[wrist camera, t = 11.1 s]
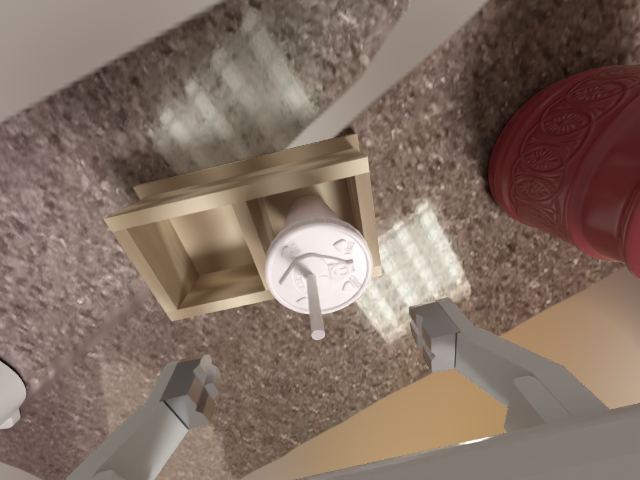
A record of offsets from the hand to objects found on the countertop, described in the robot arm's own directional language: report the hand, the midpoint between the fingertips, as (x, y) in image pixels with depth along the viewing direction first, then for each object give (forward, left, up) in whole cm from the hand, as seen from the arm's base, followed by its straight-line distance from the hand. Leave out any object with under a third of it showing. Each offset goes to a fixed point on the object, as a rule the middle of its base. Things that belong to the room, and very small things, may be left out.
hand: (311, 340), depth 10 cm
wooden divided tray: (-4, 0, -16) cm, 16 cm away
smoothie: (0, 0, -15) cm, 15 cm away
